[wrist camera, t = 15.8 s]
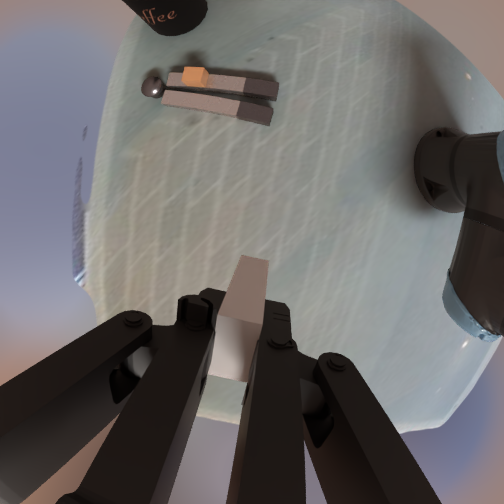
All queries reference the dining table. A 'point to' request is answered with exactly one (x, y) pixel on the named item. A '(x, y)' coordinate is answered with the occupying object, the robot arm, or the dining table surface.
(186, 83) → the tab
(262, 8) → the dining table surface
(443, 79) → the dining table surface
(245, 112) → the tongs upper
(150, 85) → the tongs lower
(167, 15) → the coffee jar
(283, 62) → the dining table surface
